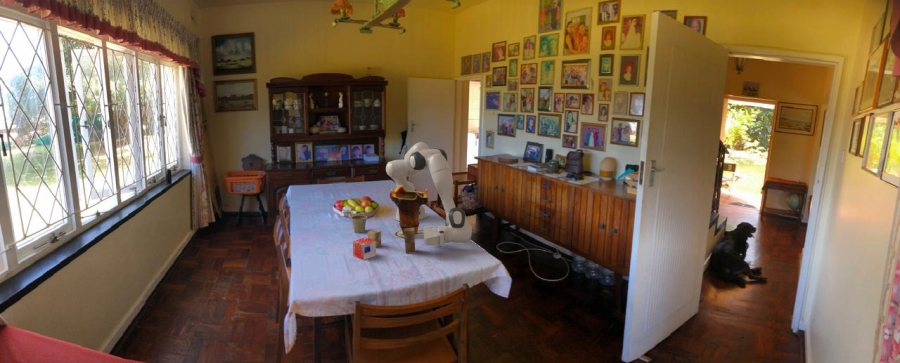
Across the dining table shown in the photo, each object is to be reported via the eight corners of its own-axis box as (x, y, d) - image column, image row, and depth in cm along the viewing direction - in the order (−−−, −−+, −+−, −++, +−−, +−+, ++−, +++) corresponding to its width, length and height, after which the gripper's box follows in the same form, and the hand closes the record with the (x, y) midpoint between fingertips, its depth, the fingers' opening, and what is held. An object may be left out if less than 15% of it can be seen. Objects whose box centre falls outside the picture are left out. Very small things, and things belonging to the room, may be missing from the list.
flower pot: (369, 229, 258) (369, 215, 257) (365, 234, 249) (364, 219, 247) (354, 228, 259) (353, 214, 257) (349, 233, 250) (348, 219, 248)
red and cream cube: (365, 251, 222) (365, 237, 221) (375, 255, 218) (375, 240, 216) (353, 256, 216) (352, 241, 215) (363, 260, 212) (362, 244, 210)
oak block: (374, 243, 234) (374, 229, 233) (381, 245, 232) (380, 231, 230) (368, 246, 230) (367, 231, 229) (374, 248, 227) (374, 233, 226)
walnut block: (415, 249, 225) (414, 227, 223) (415, 252, 221) (414, 230, 218) (405, 250, 225) (404, 228, 222) (405, 253, 220) (404, 231, 218)
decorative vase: (425, 240, 238) (422, 191, 232) (386, 239, 243) (382, 191, 237) (434, 229, 258) (432, 183, 252) (398, 228, 263) (394, 183, 257)
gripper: (439, 222, 232) (414, 223, 231) (443, 235, 212) (415, 235, 211) (439, 233, 233) (414, 234, 232) (443, 247, 214) (415, 248, 212)
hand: (414, 235), depth 221 cm, fingers closed
